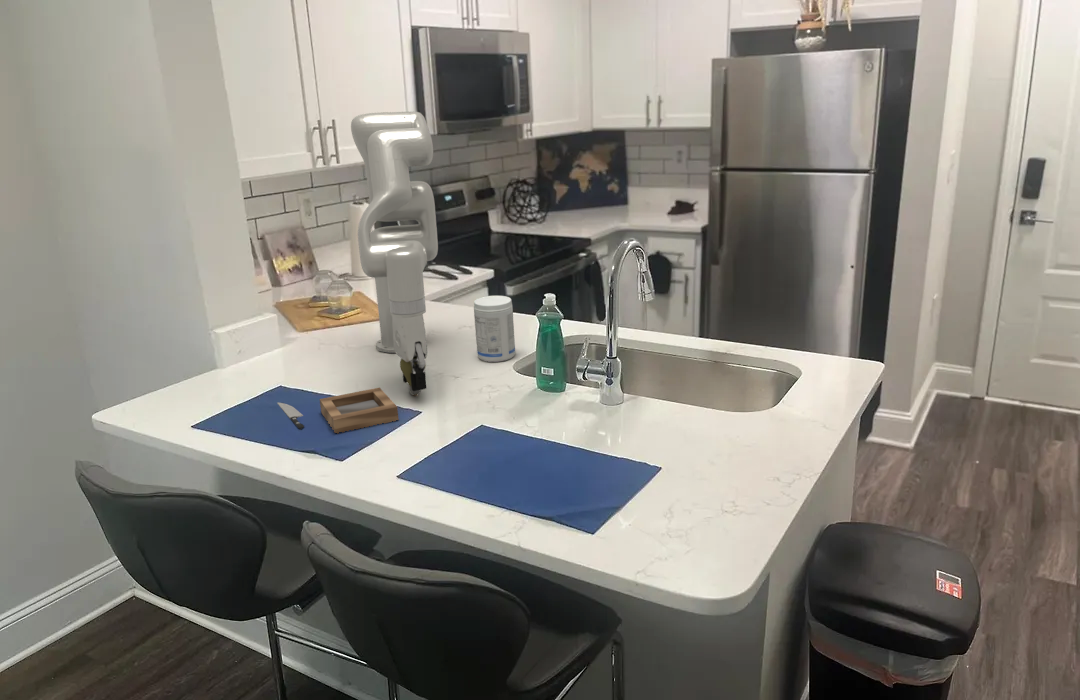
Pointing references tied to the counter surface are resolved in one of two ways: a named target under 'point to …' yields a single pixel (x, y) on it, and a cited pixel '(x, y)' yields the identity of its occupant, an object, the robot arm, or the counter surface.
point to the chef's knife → (292, 414)
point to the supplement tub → (494, 328)
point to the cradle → (358, 410)
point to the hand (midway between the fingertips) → (414, 384)
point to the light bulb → (406, 371)
